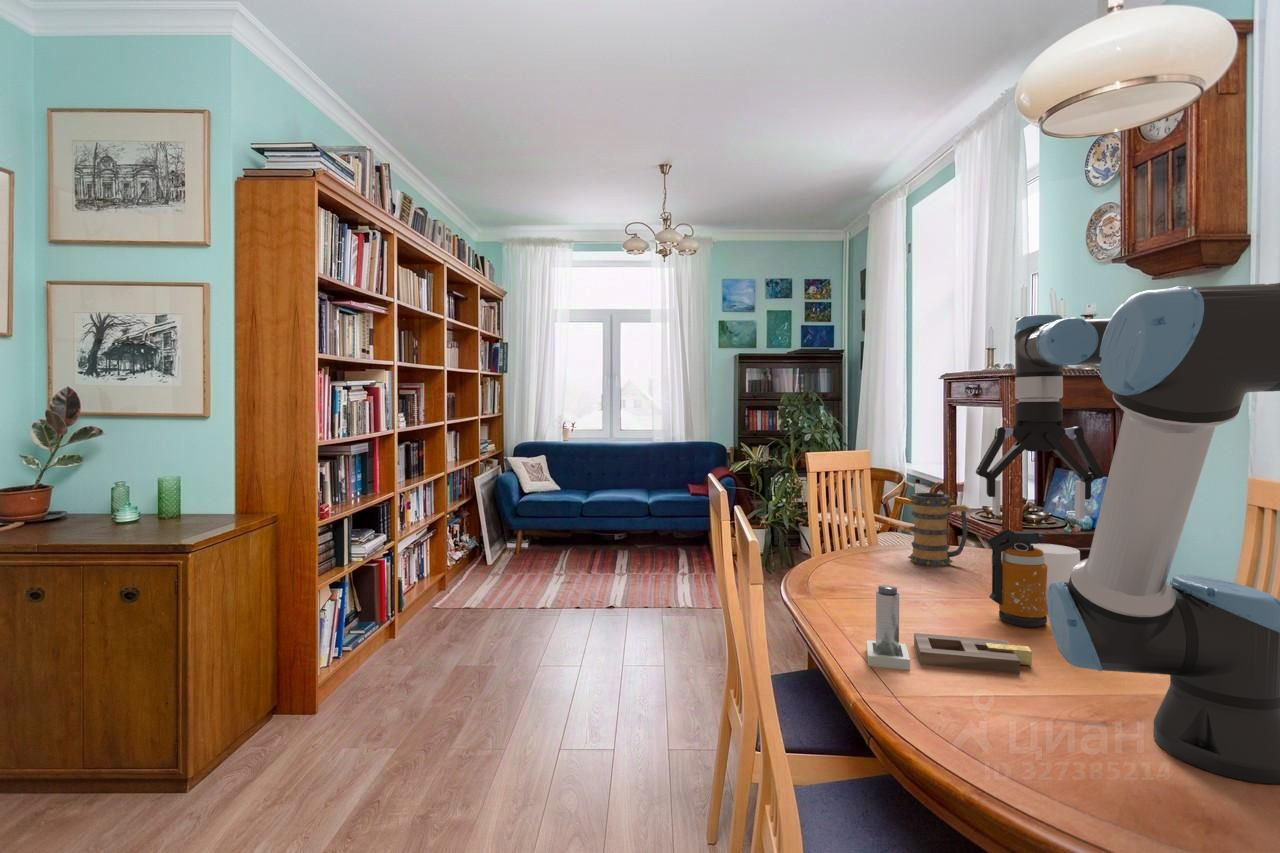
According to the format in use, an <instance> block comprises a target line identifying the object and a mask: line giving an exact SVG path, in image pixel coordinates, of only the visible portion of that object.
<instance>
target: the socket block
mask: <svg viewBox="0 0 1280 853" xmlns="http://www.w3.org/2000/svg"><path fill="white" fill-rule="evenodd" d="M913 638H914V639H913V646H914V648H915V652H916V656H917V658H918V661H919V664H920V665H921V666H930V667H931V666H932V667H943V668H952V669H960V670H963V669H964V670H972V671H973V670H975V671H983V672H994V673H995V672H997V673H1005V674H1014V675H1015V674H1017V675H1020V674H1021V664H1020V660H1019V659H1018V657H1017V656H1016V654H1015V653H1006V652H995V651H985V646H986V643H992V644H1004V645H1010V644H1009V643H1008V641H1007V639H1006V640H1002V639H995V638H994V639H992V638H991V639H990V638H981V637H979V638H978V637H967V636H956V635H955V636H954V635H943V634H940V635H939V634H929V633H920V632H919V633H917V632H915V633H913Z"/></svg>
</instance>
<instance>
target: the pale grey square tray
mask: <svg viewBox="0 0 1280 853" xmlns="http://www.w3.org/2000/svg"><path fill="white" fill-rule="evenodd" d="M866 658H867V666H868V667H874V668H875V667H876V668H885V669H894V670H895V669H896V670H907V671H911V658H910V655H909V651H908V648H907V644H906V643H904V642H903V643H902V642H899V657H898V656H887V655H876V640H869V639H868V640H866Z"/></svg>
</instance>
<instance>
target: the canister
mask: <svg viewBox="0 0 1280 853" xmlns="http://www.w3.org/2000/svg"><path fill="white" fill-rule="evenodd" d="M1039 541H1040V542H1043V541H1045V536H1044V535H1042V534H1039V533H1038V532H1037V531H1035V530H1029V531H1021V530H1019V531H1016V530H1014V531H1013V530H1011V529H1010V528H1007V529H1005V530H1003V531H1002V532H1000V533H998V534H996V535H994V536H993V537H990V538H989V539H988V542H989V545H990V547H991V549H992V550H991V551H992V554H991V566H992V569H991V594H989V598H990V599H991V600H992V601H994V602H995V603H996V604H998V608H999V610H998V616H999V618H1000V619H1002V620H1003V621H1006V622H1008V624H1011V625H1015V626H1019V627H1025V628H1026V627H1027V628H1034V627H1035V628H1036V627H1039V626H1044V625H1046V624H1047V623H1048V616H1047V615H1048V607H1047V565H1046V564H1045V563H1044V554H1043V551H1042V550H1040V549H1038V548H1034V547H1033V545H1031V544H1039ZM1030 546H1031V547H1030Z"/></svg>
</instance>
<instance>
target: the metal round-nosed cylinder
mask: <svg viewBox="0 0 1280 853" xmlns="http://www.w3.org/2000/svg"><path fill="white" fill-rule="evenodd" d="M877 588H878V589H877V591H876V592H875V641H876V655H887V656H898V657H899V643H900V593H899V592H898V588H897V587H896V586H892V585H888V584H887V585H885V584H884V585H878V587H877Z"/></svg>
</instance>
